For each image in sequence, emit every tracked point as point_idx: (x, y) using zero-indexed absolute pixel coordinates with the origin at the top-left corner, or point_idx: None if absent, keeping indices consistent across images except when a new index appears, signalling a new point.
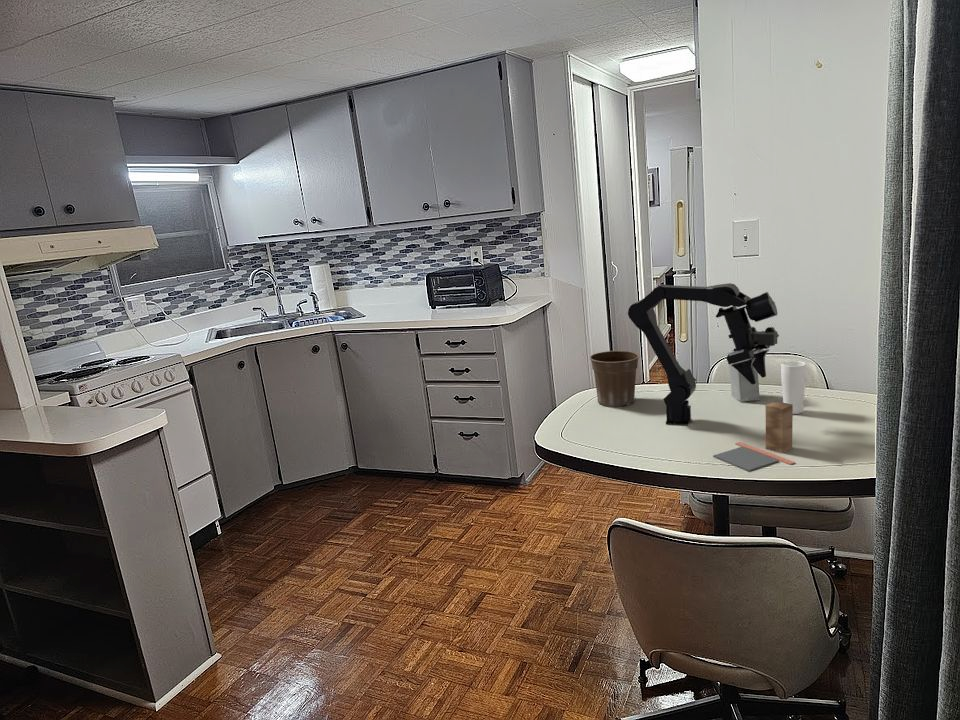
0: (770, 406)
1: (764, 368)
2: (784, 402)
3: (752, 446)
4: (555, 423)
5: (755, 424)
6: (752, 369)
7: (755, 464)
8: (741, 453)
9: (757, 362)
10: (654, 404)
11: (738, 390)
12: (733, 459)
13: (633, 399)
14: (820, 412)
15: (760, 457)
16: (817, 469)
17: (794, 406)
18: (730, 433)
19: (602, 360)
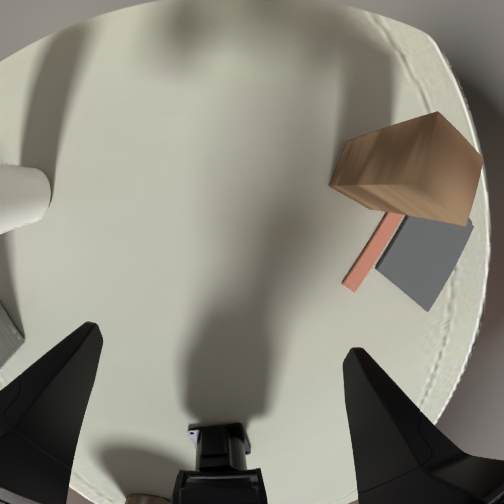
0: (472, 204)
1: (62, 364)
2: (27, 219)
3: (370, 244)
4: None
5: (165, 277)
6: (425, 431)
7: None
8: (415, 259)
9: (53, 439)
10: (135, 475)
11: (8, 359)
12: (442, 267)
13: (147, 499)
14: (27, 128)
15: None
16: (435, 98)
17: (37, 185)
18: (271, 326)
19: None
